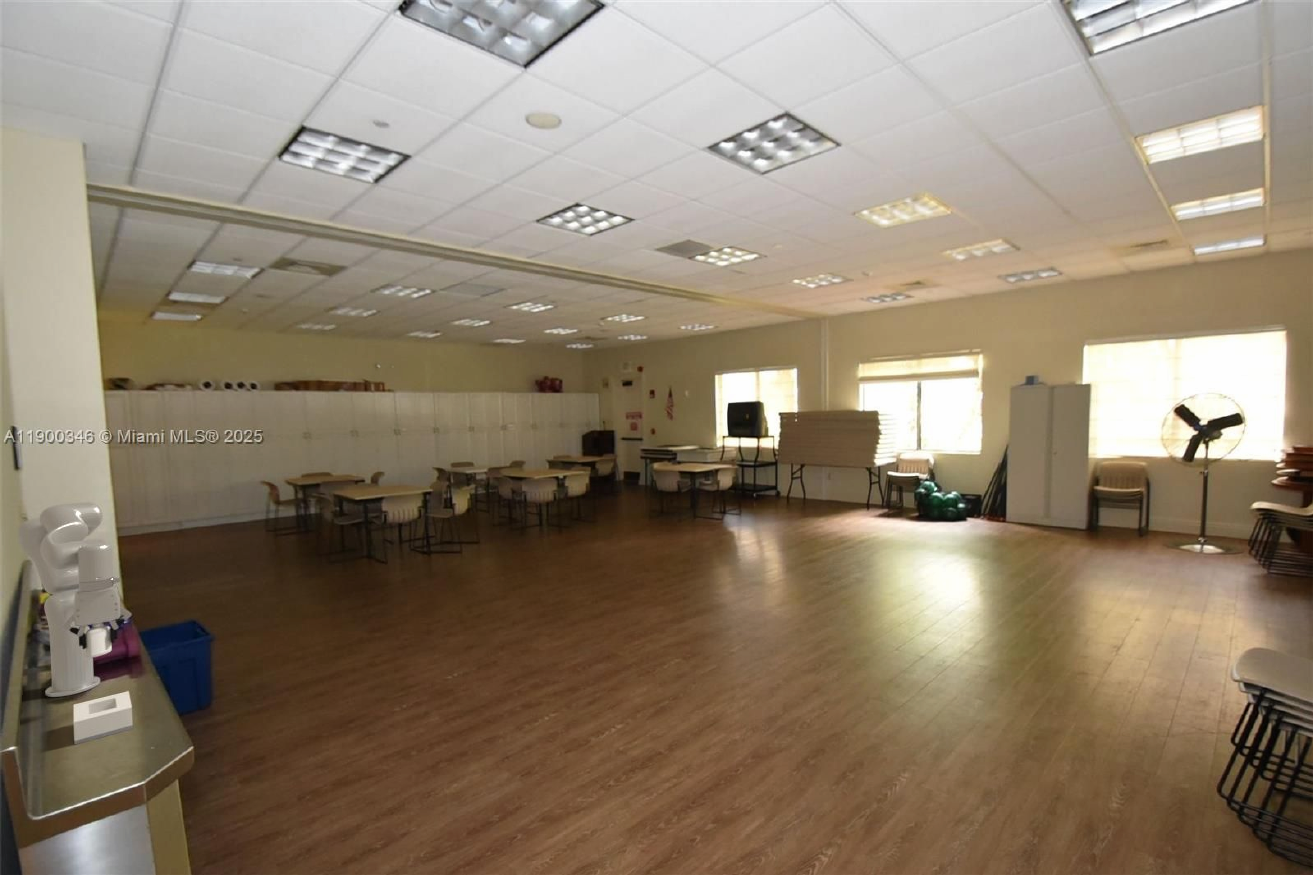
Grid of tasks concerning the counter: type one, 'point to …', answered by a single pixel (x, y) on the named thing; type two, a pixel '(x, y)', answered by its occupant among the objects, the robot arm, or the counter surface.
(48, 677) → the counter surface
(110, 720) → the keyed holder
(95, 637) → the eye dropper bottle
